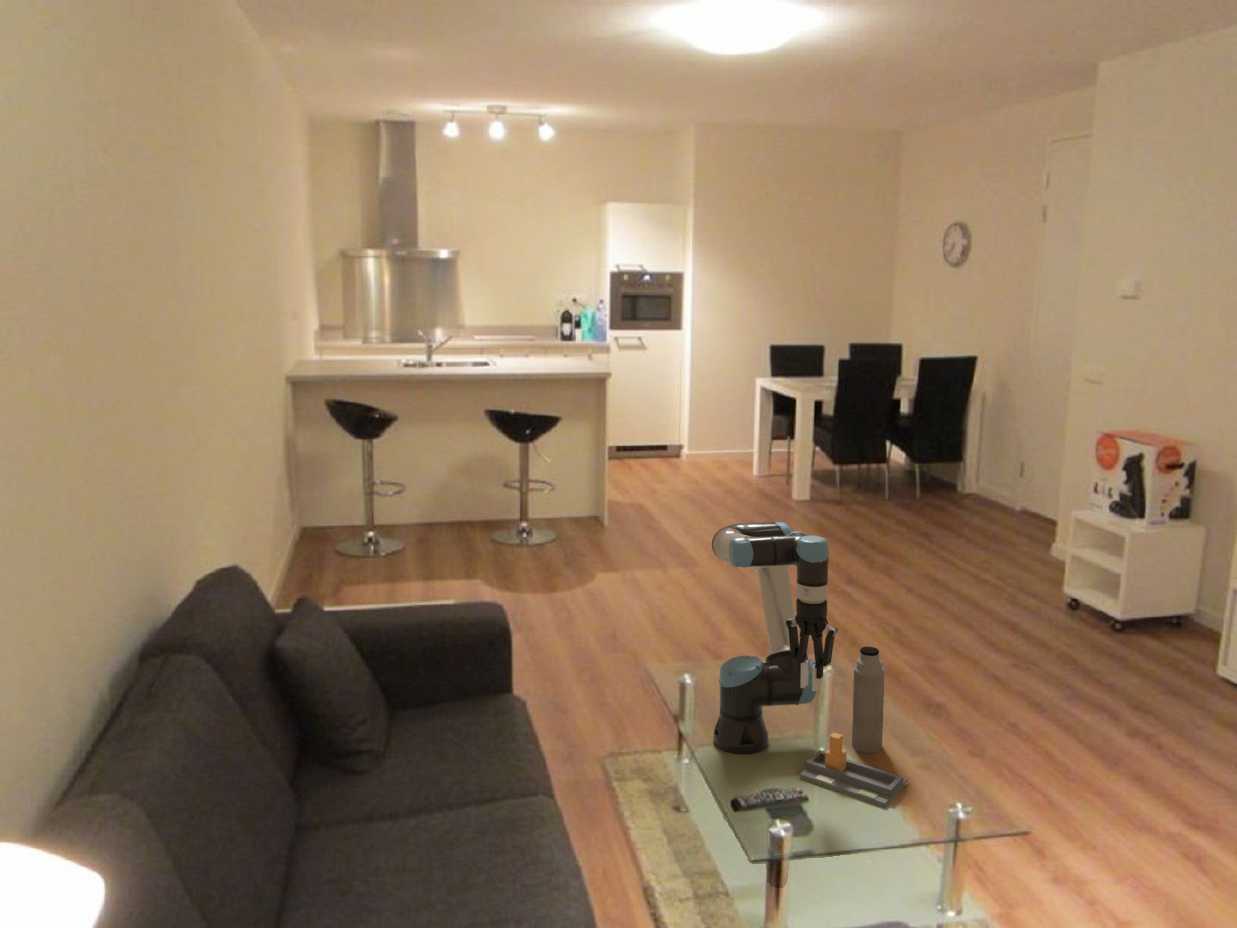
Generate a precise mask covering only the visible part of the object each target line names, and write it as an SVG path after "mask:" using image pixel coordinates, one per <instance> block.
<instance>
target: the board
mask: <svg viewBox="0 0 1237 928" xmlns="http://www.w3.org/2000/svg"><path fill="white" fill-rule="evenodd" d="M825 752H826V751H823V750H820V749H819V750H818V751H816V752H815V753H814V754H813V755H811V757H809V759H807V760H806V761H805V768H804V770H802V771H801V772H799V779H801V780H803V781H805V782H810V783H813V784H814V785H815V784H816V785H818V786H821V787H824V788H827V789H830V790H833V791H835V792H838V793H841V794H844V795H846V796H850V797H853V798H855V799H859V800H860V801H864V802H867V803H870V804H871V805H872V804H873V805H876V806H879V807H881V808H887V806H888V805H889V804H890V803H891V802H892V801H893V800H894V799H895V798H896V797H897V795H899V793H900V792H901V791H903V789H904V788H905V787H906V786H905V784H906V783H907V782H908V783H909V779H908V778H907V777H904V776H902V775H898V774H895V773H892V772H889V771H886V770H882V769H879V768H876V767H873V766H870V765H868V764H865V763H864V764H863V763H860V762H858V761H854V760H851V759H848V758H846V769H845V770H844V771H840V770H837V769H834V768H831V767H828V766H825ZM904 786H905V787H904ZM903 787H904V788H903ZM900 790H901V791H900ZM899 791H900V792H899Z"/></svg>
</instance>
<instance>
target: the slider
mask: <svg viewBox="0 0 1237 928" xmlns="http://www.w3.org/2000/svg"><path fill="white" fill-rule="evenodd" d="M843 737H844V736H843V734H840V733H836V732H833V733H832V734H830V735H829V748H828V749H827V750H826V751H824V752H825V766H828V767H831V768H834V769H837V770H840V771H844V770H845V769H846V759H847V752H848V751H847V750H846V749H843Z"/></svg>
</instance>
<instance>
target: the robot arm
mask: <svg viewBox="0 0 1237 928" xmlns="http://www.w3.org/2000/svg"><path fill="white" fill-rule="evenodd" d="M711 549H712V552H713V553H714V555H715V557H716V558H718V559H720V560H721V561H724V562H728V563H730V565H731V566H732V567H734V568H744V569H747V568H752V570H753V571H754V572H756V573H757V574H758V579H759V586H760V592H761V593H760V594H761V601H762V605H763V606H762V607H763V613H764V620H765V626H766V633H767V641H768V646H769V652H768V654H767V655H766V656H765V662H763V660H762V659H761V658H759V657H757V656H755V655H753V656H751V655H740V656H739V655H738V656H734V657H732V658H728V659H727V660H726V661H725V662H723V663H722V665H721V666H720V671H719V680H718V683H719V715H718V718H717V721H716V724H715V726H714V730H713V743H714V745H715V746H716V747H718V748H719V749H721V750H723V751H725V752H729V753H732V754H739V755H740V754H742V755H744V754H748V755H749V754H753V753H754V754H755V753H758V752H761V751H763V750H765V748H766V747H767V746H768V745H769V732H768V729H767V726H766V723H765V720H764V717H763V707H773V706H775V707H776V706H777V707H778V706H793V705H794V706H799V705H806V704H810V703H812V702H813V701H814V699H815V697H816V695H817V691H818V690H819V689H820V688H821V679H822V678H823V677H824V667H827V666H829V665H830V664H831V663H832V658H833V649H834V643H835V636H836V634H837V632H838V628H837V627H832V626H831V625H829V621H828V619H827V617H828V600H827V599H828V593H829V592H828V590H829V589H828V579H829V576H828V575H829V555H830V551H829V541H828V539H826V538H825V537H821V536H820V535H808V534H806V533H805V532H803V531H799V530H795V531H793V530H792V529H791V527H790V525H788V524H787V523H786V522H781V521H768V522H766V521H765V522H746V523H742V522H741V523H740V522H739V523H733V524H729V525H726V526H724V527H721V528H720V529H719V530H717V532H715V534H714V535H713V537H712V540H711ZM791 566H796V599H795V601H796V602H795V604H796V605H795V606H796V607H794V599H793V594H792V587H791V580H790V573H789V569H790V568H791ZM795 608H796V609H795ZM798 628H799V629H800V630H799V629H798ZM824 631H825V639H824V645H823V634H824V633H823V632H824ZM810 637H811V640H812V643H813V653H814V654H813V655H814V660H812V659H809V657H808V653H807V652H808V648H809V647H808V646H809V640H810V639H809V638H810Z"/></svg>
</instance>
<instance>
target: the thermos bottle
mask: <svg viewBox="0 0 1237 928" xmlns="http://www.w3.org/2000/svg"><path fill="white" fill-rule="evenodd" d="M859 652H860V657H858V658H857V660H856V664H855V666H854V667H853V690H852V691H853V693H852V694H853V695H852V697H853V698H852V728H851V747H852V748H854V750H856V751H858V752H861V753H865V754H866V753H867V754H873V753H878V752H879V751H881V750H882V748H883V732H884V731H883V728H884V697H885V694H884V693H885V672H886V670H885V668H883V666H884V664H883V661H882V660H881V659H880V650H879V648H877V647H874V646H863V647H861V648H860V650H859Z"/></svg>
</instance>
